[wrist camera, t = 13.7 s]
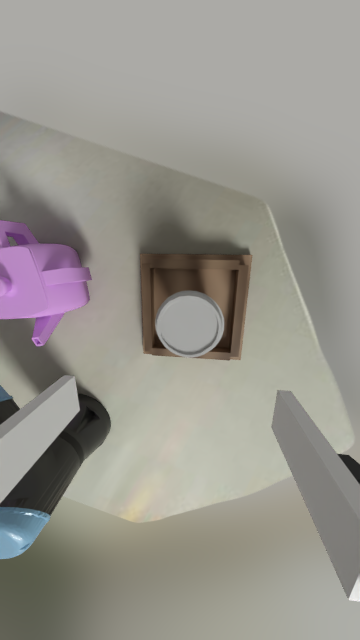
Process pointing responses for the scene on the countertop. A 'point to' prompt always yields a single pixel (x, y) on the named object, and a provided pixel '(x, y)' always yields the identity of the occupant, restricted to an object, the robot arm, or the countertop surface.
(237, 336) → the cup caddy
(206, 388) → the countertop surface
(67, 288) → the teakettle
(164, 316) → the disposable coffee cup
